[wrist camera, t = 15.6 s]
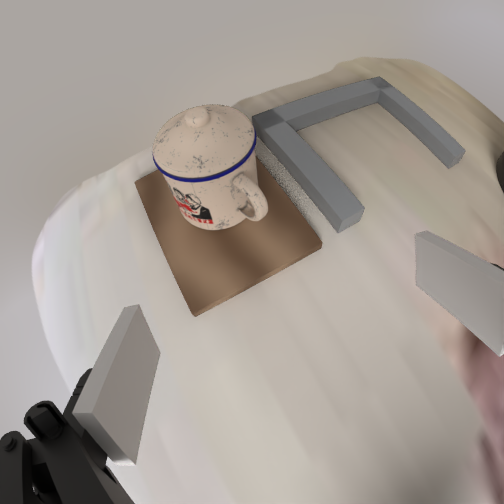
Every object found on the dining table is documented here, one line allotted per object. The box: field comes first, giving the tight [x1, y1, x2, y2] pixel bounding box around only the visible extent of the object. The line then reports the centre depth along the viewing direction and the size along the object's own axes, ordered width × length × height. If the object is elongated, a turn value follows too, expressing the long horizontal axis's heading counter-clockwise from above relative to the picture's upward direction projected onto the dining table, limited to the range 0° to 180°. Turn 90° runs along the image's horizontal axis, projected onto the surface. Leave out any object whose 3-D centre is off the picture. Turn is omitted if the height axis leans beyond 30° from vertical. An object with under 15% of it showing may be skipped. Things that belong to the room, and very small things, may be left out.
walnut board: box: [134, 156, 322, 317], centre depth 33 cm, size 14×18×1 cm
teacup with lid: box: [153, 105, 268, 230], centre depth 27 cm, size 12×9×12 cm
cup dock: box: [252, 77, 466, 233], centre depth 36 cm, size 23×18×2 cm
